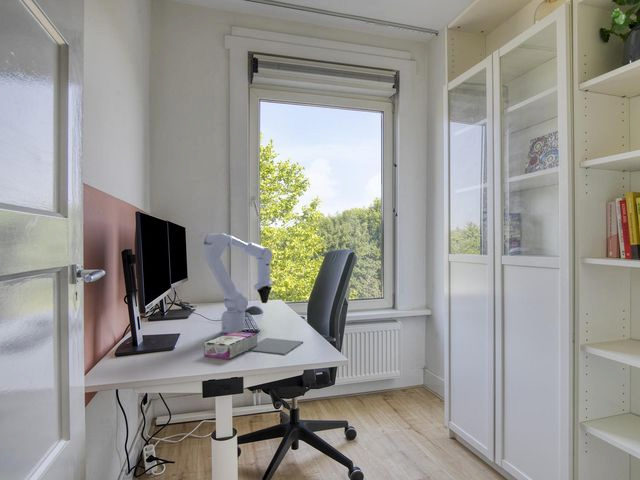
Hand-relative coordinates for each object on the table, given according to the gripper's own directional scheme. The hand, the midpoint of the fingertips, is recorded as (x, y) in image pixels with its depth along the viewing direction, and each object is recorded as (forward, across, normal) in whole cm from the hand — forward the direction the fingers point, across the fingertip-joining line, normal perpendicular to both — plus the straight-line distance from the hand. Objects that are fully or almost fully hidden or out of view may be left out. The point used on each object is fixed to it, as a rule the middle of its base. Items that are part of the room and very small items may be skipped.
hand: (264, 302), depth 173 cm
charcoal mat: (+10, -28, -20) cm, 36 cm away
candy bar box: (+8, -30, -9) cm, 33 cm away
